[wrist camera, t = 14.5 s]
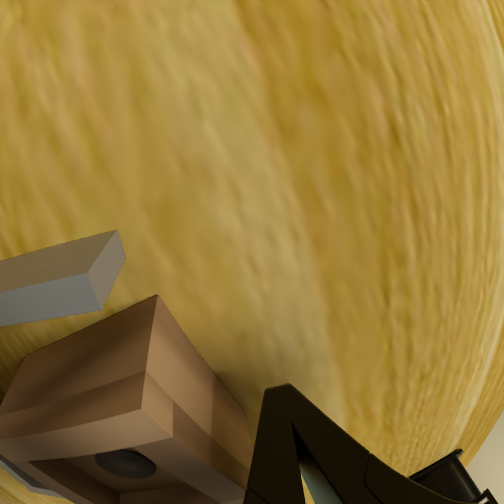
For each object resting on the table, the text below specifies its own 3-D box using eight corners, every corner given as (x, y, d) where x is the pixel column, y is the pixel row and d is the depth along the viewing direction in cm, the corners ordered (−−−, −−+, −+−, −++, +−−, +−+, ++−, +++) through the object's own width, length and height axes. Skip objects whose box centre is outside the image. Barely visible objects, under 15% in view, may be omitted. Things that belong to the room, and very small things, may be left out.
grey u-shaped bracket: (117, 230, 7) (87, 273, 5) (209, 454, 11) (215, 500, 9) (-78, 287, 6) (-111, 319, 4) (39, 456, 10) (30, 491, 8)
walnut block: (157, 294, 8) (141, 408, 4) (245, 412, 11) (266, 502, 7) (25, 356, 8) (-15, 441, 4) (122, 447, 11) (117, 523, 7)
